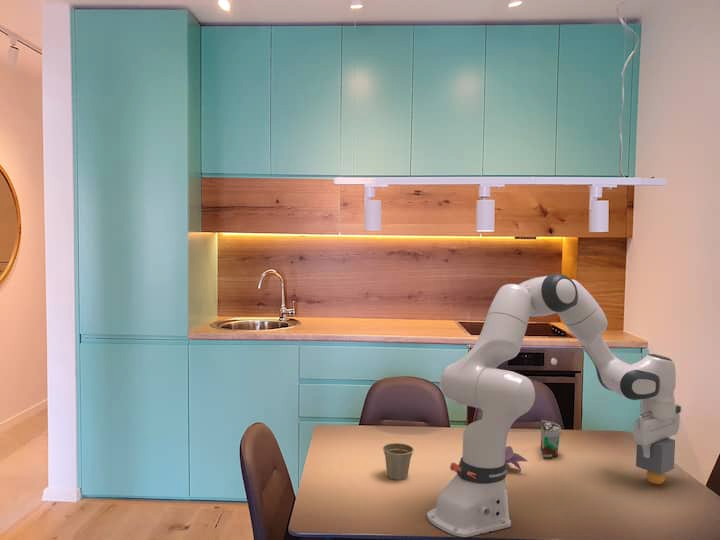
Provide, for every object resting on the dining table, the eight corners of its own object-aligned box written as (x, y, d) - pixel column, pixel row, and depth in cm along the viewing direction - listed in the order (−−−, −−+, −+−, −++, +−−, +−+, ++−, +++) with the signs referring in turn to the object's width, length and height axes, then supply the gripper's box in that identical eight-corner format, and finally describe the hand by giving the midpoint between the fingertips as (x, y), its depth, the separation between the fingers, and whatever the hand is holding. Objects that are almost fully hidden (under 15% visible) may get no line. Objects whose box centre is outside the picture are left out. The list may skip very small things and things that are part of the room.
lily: (528, 482, 182) (536, 451, 186) (494, 468, 181) (502, 437, 184) (508, 479, 194) (516, 450, 197) (476, 466, 192) (484, 437, 195)
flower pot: (419, 476, 182) (420, 448, 182) (399, 485, 176) (400, 456, 175) (395, 467, 189) (396, 440, 188) (375, 476, 182) (376, 448, 181)
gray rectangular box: (660, 474, 175) (662, 445, 175) (635, 466, 181) (637, 437, 181) (673, 468, 180) (675, 440, 179) (648, 460, 186) (650, 432, 185)
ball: (659, 474, 177) (667, 467, 179) (642, 468, 181) (651, 461, 183) (659, 489, 178) (668, 482, 180) (643, 483, 182) (652, 476, 184)
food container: (563, 462, 196) (564, 432, 196) (543, 460, 197) (544, 430, 197) (558, 449, 208) (559, 421, 208) (540, 447, 209) (541, 419, 209)
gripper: (649, 417, 171) (647, 464, 172) (684, 405, 183) (682, 450, 184) (628, 411, 176) (626, 457, 177) (663, 400, 188) (661, 444, 189)
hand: (655, 454), depth 180 cm, fingers closed on gray rectangular box, 8 cm apart
